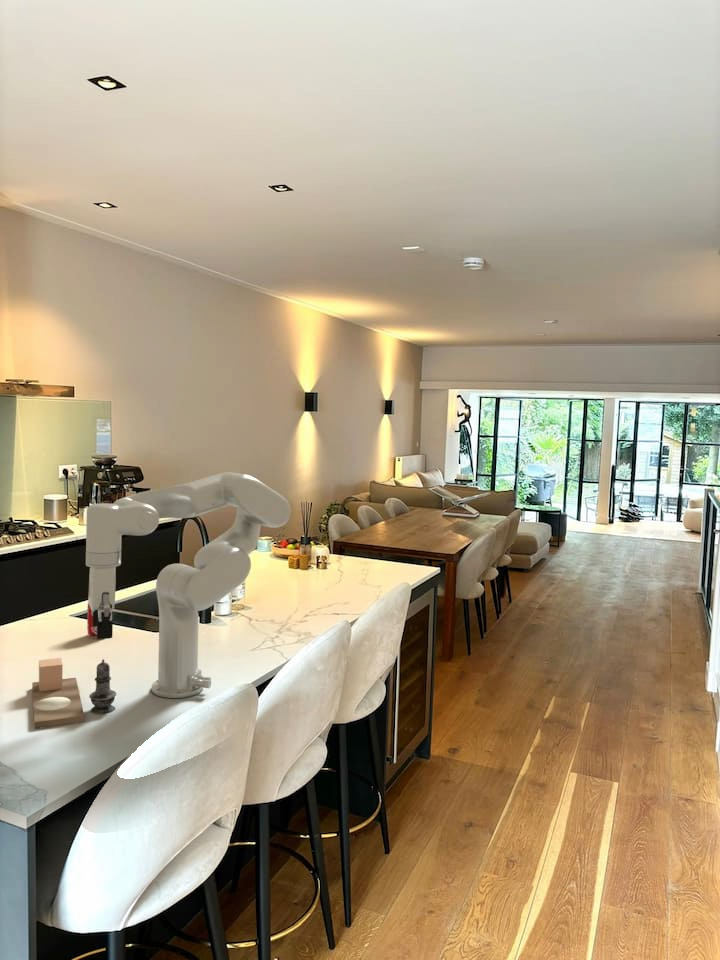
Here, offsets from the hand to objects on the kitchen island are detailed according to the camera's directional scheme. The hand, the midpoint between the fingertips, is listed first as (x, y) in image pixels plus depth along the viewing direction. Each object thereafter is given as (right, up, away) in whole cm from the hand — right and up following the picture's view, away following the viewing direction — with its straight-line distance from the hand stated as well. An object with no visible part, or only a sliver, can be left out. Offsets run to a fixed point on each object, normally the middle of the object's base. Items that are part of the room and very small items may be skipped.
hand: (102, 632), depth 164 cm
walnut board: (-12, -18, +4) cm, 22 cm away
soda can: (-20, -13, +54) cm, 59 cm away
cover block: (-16, -15, +10) cm, 25 cm away
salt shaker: (-1, -19, +2) cm, 19 cm away
